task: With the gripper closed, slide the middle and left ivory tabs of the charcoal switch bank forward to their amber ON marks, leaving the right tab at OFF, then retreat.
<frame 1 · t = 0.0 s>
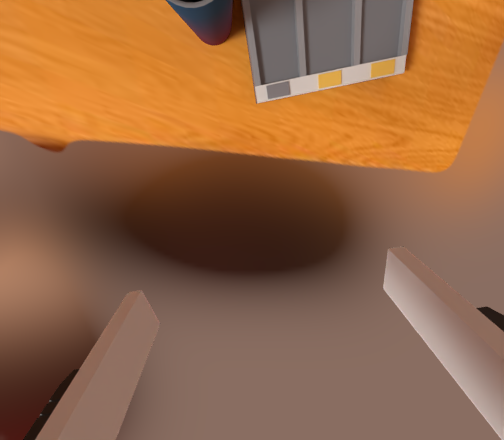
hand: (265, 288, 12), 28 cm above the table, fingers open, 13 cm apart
cup: (212, 21, 28), on the table
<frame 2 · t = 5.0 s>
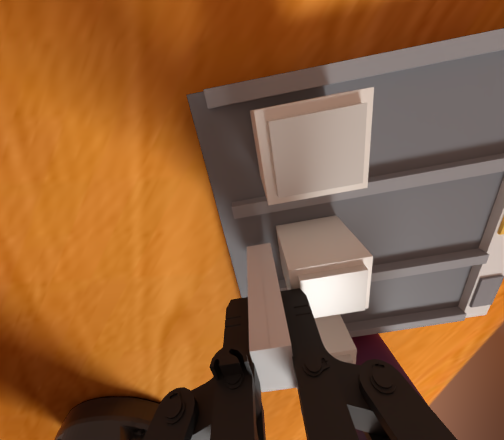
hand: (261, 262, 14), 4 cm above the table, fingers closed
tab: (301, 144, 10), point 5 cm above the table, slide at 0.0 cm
switch bank: (358, 218, 17), on the table
cup: (349, 333, 23), on the table
tab middle: (318, 265, 13), point 5 cm above the table, slide at 0.5 cm, touching gripper
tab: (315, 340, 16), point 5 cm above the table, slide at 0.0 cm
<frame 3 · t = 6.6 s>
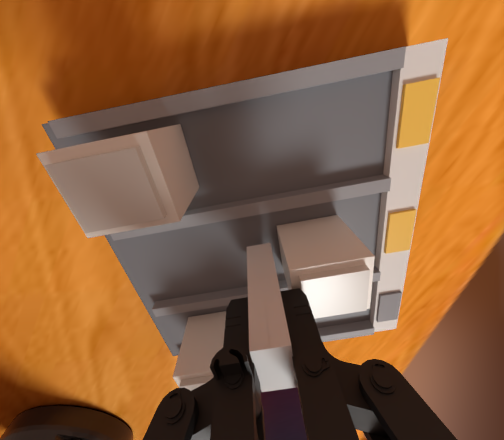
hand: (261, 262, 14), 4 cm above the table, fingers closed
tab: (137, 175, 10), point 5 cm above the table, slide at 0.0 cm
switch bank: (260, 235, 17), on the table
cup: (278, 344, 24), on the table
tab middle: (319, 264, 13), point 5 cm above the table, slide at 8.2 cm, touching gripper
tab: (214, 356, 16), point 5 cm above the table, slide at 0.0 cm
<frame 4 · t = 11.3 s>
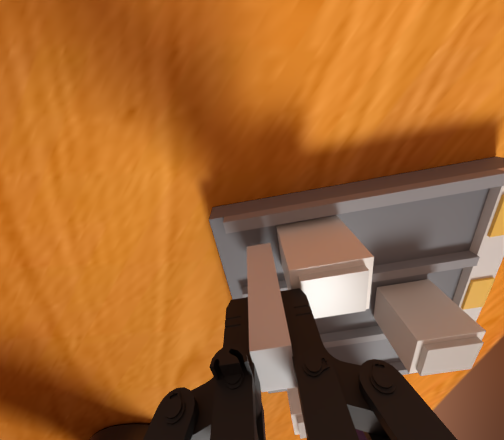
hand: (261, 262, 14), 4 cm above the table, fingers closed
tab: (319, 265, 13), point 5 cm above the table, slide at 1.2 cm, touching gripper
switch bank: (347, 287, 20), on the table
tab middle: (421, 325, 16), point 5 cm above the table, slide at 8.4 cm
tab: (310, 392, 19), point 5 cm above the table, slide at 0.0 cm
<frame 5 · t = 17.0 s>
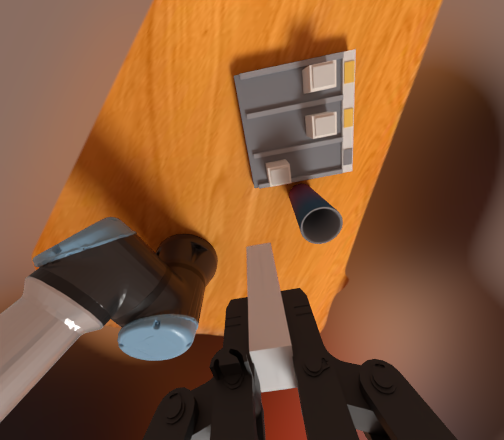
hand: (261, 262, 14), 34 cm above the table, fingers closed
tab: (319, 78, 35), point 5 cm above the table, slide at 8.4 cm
switch bank: (295, 126, 42), on the table
cup: (300, 193, 49), on the table
tab middle: (320, 124, 38), point 5 cm above the table, slide at 8.4 cm
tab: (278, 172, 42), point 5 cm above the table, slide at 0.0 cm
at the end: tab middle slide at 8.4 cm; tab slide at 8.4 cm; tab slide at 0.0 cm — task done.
